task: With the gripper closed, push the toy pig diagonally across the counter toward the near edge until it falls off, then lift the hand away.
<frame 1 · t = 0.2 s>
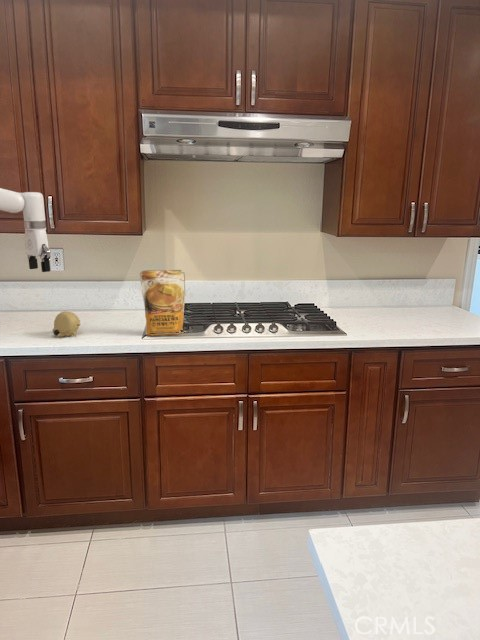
hand: (39, 270, 182), 30 cm above the table, tool pointing down, fingers open, 9 cm apart
pancake mix bag: (164, 334, 204), on the table
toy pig: (67, 336, 199), on the table
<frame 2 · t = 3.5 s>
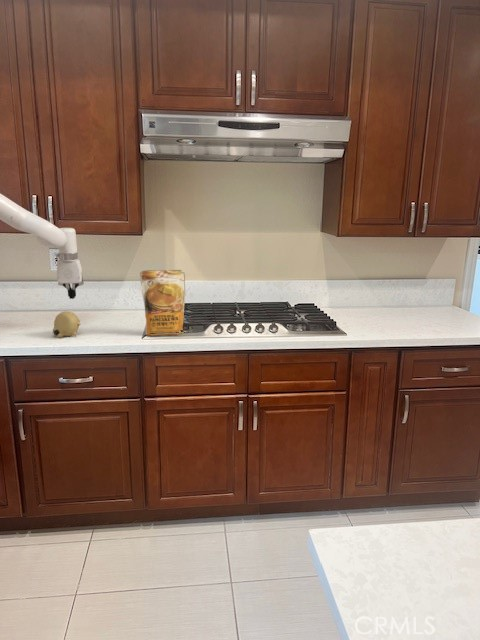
hand: (72, 298, 206), 14 cm above the table, tool pointing down, fingers closed
nothing on the table moved.
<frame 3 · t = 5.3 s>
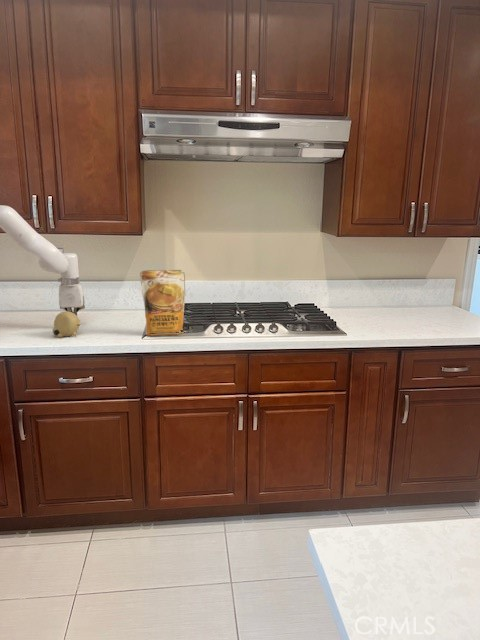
hand: (73, 321, 209), 3 cm above the table, tool pointing down, fingers closed
nothing on the table moved.
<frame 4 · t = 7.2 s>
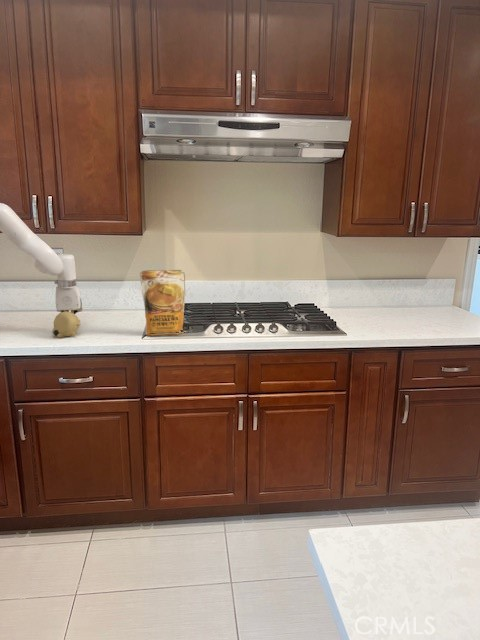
hand: (70, 324, 204), 3 cm above the table, tool pointing down, fingers closed
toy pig: (67, 336, 198), on the table, touching gripper
everything else where it was.
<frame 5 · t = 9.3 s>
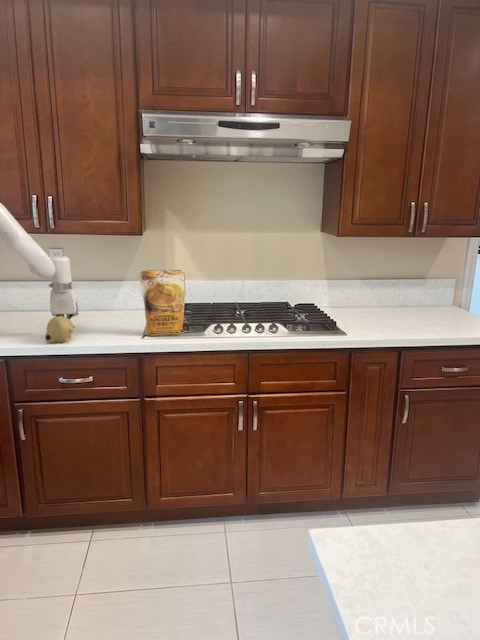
hand: (66, 329, 197), 3 cm above the table, tool pointing down, fingers closed
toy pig: (60, 341, 191), on the table, touching gripper
everything else where it was.
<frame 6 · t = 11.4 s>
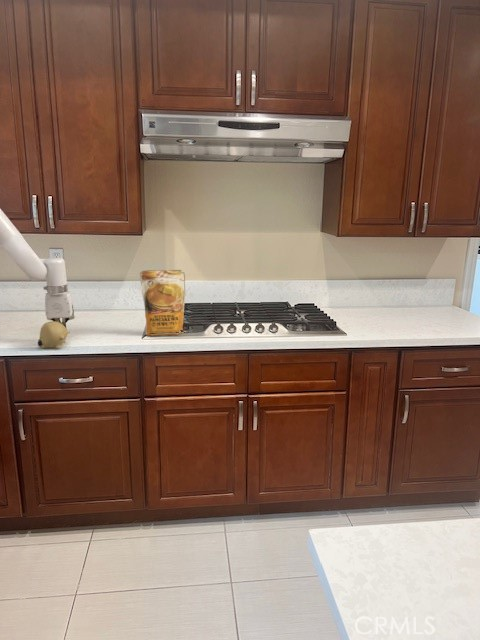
hand: (62, 333, 189), 4 cm above the table, tool pointing down, fingers closed
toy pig: (54, 346, 185), on the table, touching gripper
everything else where it was.
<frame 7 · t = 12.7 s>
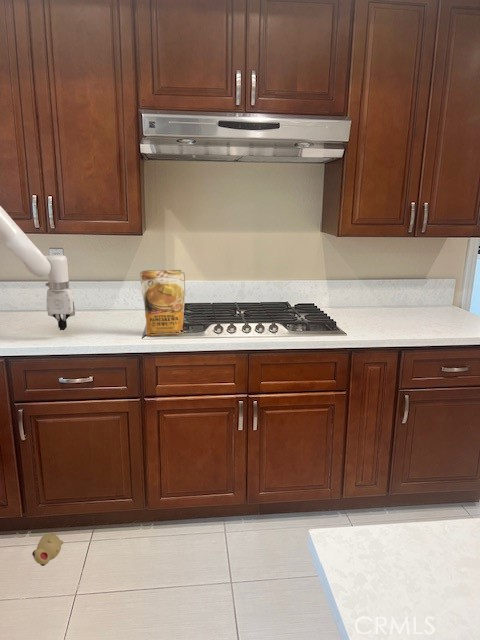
hand: (62, 329, 192), 4 cm above the table, tool pointing down, fingers closed
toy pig: (48, 552, 187), on the floor
everything else where it was.
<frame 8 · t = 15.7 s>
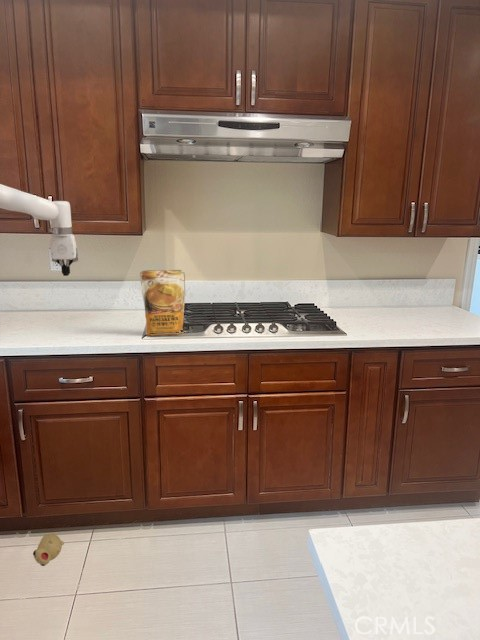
hand: (66, 275, 198), 25 cm above the table, tool pointing down, fingers closed
nothing on the table moved.
at the end: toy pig on the floor; pancake mix bag moved 0.2 cm from its start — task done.
